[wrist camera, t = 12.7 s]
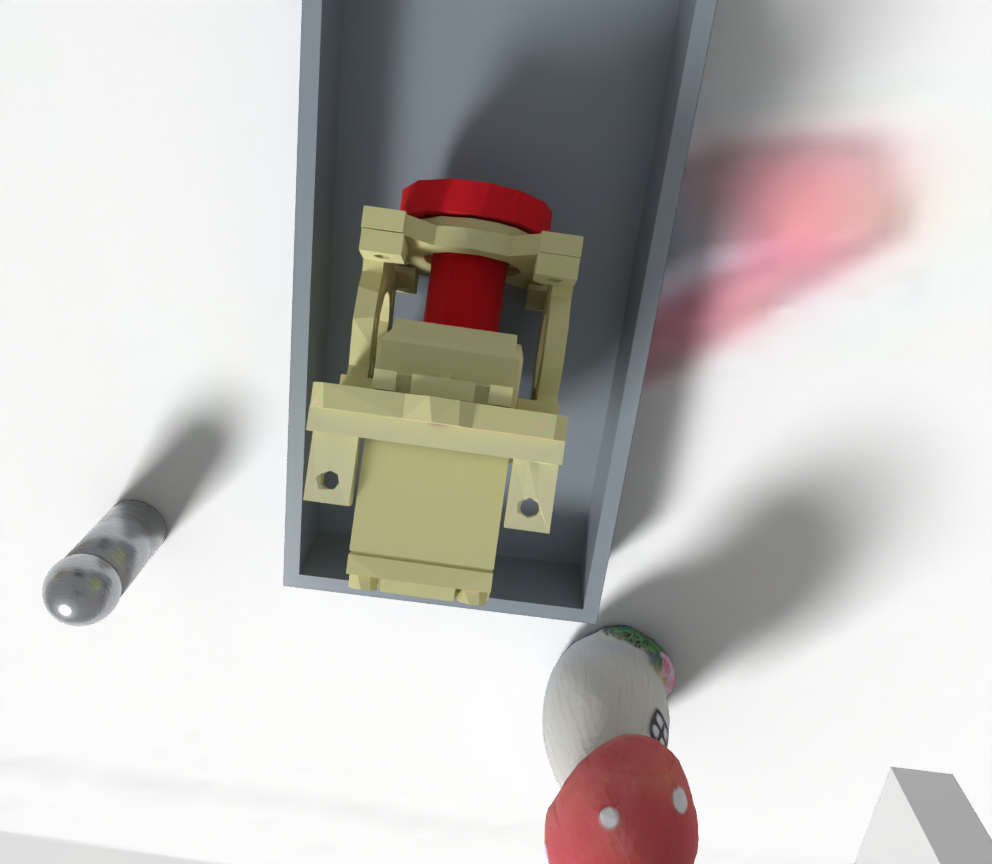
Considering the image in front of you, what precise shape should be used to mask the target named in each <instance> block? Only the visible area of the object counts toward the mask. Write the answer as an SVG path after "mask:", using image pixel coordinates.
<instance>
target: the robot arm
mask: <svg viewBox="0 0 992 864" xmlns="http://www.w3.org/2000/svg"><path fill="white" fill-rule="evenodd" d="M854 864H992V840H991V838H990V836H989V834H988V833H987V831H986V829H985V828H984V826H983V824H982V823H981V821H980V819H979V818H978V816H977V814H976V813H975V811H974V809H973V808H972V806H971V804H970V803H969V801H968V799H967V798H966V796H965V794H964V792H963V791H962V789H961V787H960V786H959V784H958V782H957V781H956V779H955V777H954V776H953V774H945V773H937V772H929V771H921V770H912V769H904V768H896V767H890V770H889V772H888V775H887V778H886V780H885V783H884V786H883V788H882V791H881V794H880V796H879V799H878V802H877V804H876V807H875V810H874V812H873V815H872V818H871V820H870V823H869V826H868V828H867V831H866V834H865V836H864V839H863V842H862V844H861V847H860V850H859V852H858V855H857V858H856V860H855V863H854Z"/></svg>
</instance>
